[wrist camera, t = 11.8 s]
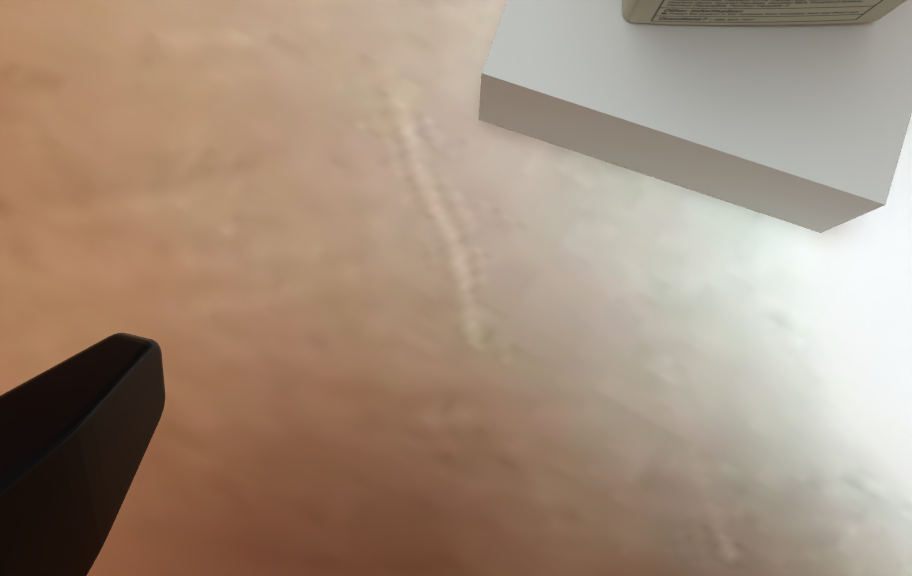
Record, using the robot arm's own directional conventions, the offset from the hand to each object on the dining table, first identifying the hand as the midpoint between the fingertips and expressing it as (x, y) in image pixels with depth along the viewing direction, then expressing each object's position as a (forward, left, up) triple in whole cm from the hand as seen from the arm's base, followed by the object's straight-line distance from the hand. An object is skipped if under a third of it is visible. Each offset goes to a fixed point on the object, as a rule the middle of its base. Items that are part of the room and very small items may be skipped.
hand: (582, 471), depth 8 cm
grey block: (0, -13, -14) cm, 19 cm away
